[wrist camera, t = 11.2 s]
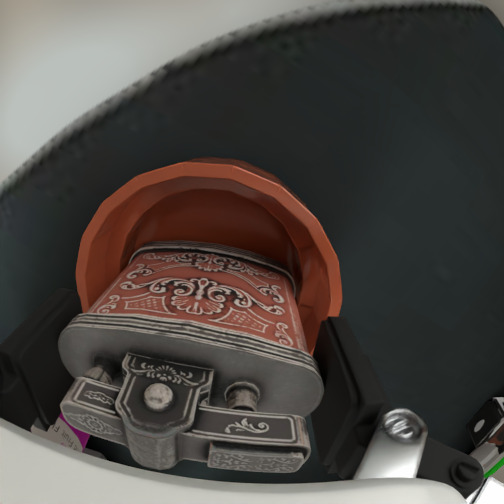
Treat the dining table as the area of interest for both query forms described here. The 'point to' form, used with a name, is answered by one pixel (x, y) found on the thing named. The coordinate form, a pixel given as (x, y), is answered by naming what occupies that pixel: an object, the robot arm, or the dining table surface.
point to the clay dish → (214, 229)
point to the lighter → (195, 361)
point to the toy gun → (488, 435)
